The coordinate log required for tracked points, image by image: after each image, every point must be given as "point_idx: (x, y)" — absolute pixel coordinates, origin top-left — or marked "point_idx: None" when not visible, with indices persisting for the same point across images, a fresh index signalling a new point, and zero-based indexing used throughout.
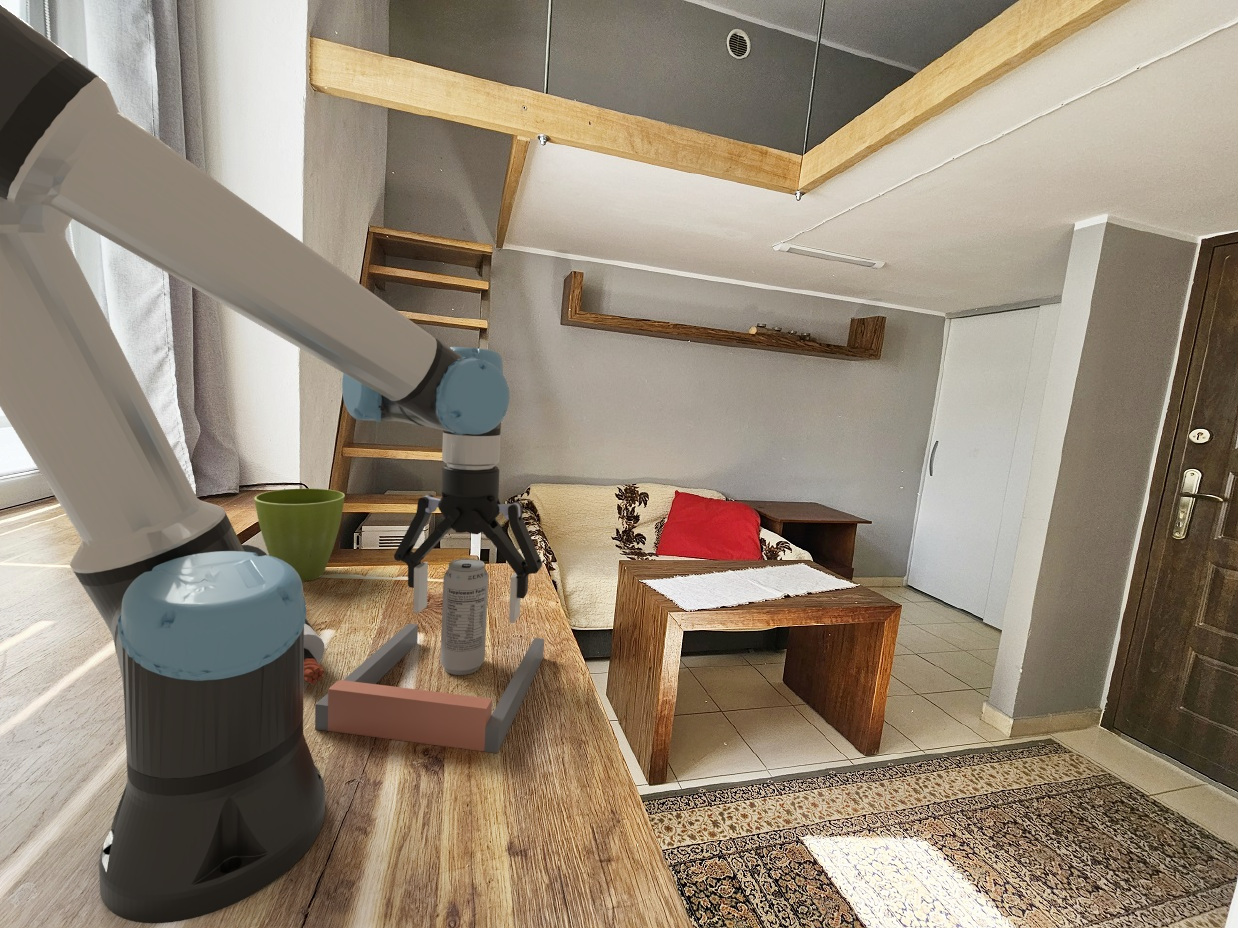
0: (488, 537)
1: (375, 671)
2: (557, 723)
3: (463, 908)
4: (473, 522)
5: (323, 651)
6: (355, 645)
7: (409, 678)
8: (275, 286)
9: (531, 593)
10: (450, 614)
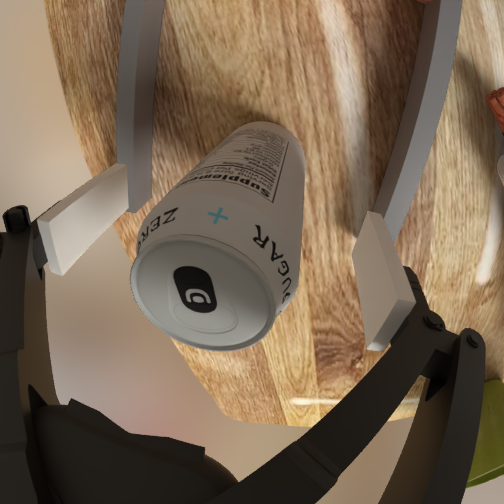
0: (14, 352)
1: (414, 102)
2: (91, 25)
3: None
4: (64, 468)
5: (501, 175)
6: (452, 236)
7: (352, 115)
8: None
9: (210, 371)
10: (268, 159)
